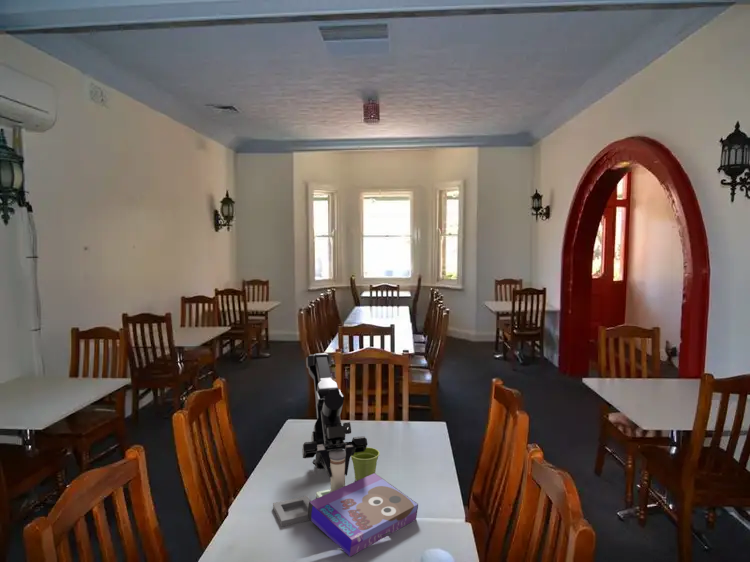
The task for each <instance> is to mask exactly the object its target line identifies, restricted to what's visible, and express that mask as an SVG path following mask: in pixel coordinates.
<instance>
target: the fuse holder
mask: <svg viewBox="0 0 750 562" xmlns="http://www.w3.org/2000/svg"><path fill="white" fill-rule="evenodd" d="M310 501H311V499H310V498H309V496H308V495H305V496H304V495H303V496H299V497H294V498H292V499H286V500H281V501H276V502H273V503H272V509H273V511H274V513H275V515H276V518H277V519H278V521H279V524H280V525H281V527H286V526H290V525H295V524H299V523H303V522H307V521H311V520H310V519H309V518H308V507H309V502H310Z"/></svg>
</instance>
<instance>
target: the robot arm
mask: <svg viewBox="0 0 750 562" xmlns="http://www.w3.org/2000/svg"><path fill="white" fill-rule="evenodd" d="M305 364H306V368H307V369H308V375H310V377H311V378H312V379H313V383H314V384H313V386H314V395H315V396H314V397H315V409H316V410H315V411H316V418H317V419H316V421H315V423H314V426H313V431H311V439H310V440H311V441H306V442H304V443H303V444H302V447H301V448H302V450H301V453H302V458H303V459H310V458H311V459H312V458H314V457H315V459H313V460H312V462H313V463H314V465H315V466H316V468H318V469H325V472H326V473H327V474H328V477H329V478H331V469H330V458H329V452H330V451H331V450H334V449H342V450H345V451H346V457H345V477H347V476H348V471H349V464H350V460H351V456H353V455H354V453H358V452H364V451H365V450H366V447H368V440H367V439H368V438H367V437H366V436H353V437H352V439H351V441H346V435H350V434H352V425H351V422H350V421H349V422H343V424H342V421H341V420H342V419H341V413H342V410H343V405H344V400H345V396H344V393H343V392H341V391H342V390H341V389H340V388H339V387H338V386H339V385H338V383H337V382H336V381H335V380H334V379H333V377H332V374H331V369H330V367H331V366H332V357H331V354H329V353H326V352H320V353H314V354H309V355H308V356H307V357H306V358H305Z"/></svg>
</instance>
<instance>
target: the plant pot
mask: <svg viewBox="0 0 750 562" xmlns="http://www.w3.org/2000/svg"><path fill="white" fill-rule="evenodd" d="M379 456H380V451H379V450H378V449H376V448H375V447H374V448H373V447H368V446H367V447H366V450H365V451H364V452H358V453H354V455H353V456H350V459H351V462H352V464H353V473H354V479H355V482H356V481H358V480H360V479H362V478H365V477H367V476H369V475H371V474H374V473H376V469H377V463H378V462H377V461H378V459H379Z"/></svg>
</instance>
